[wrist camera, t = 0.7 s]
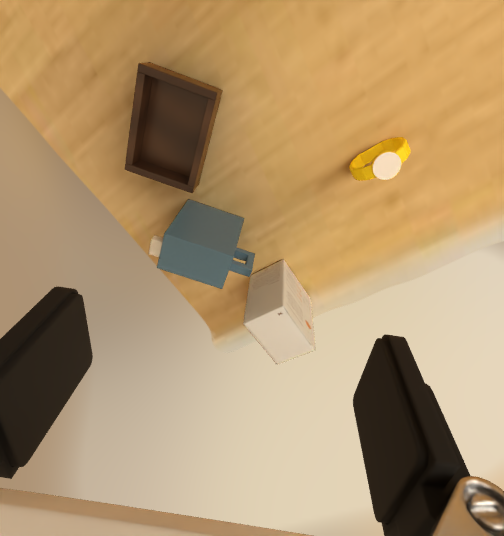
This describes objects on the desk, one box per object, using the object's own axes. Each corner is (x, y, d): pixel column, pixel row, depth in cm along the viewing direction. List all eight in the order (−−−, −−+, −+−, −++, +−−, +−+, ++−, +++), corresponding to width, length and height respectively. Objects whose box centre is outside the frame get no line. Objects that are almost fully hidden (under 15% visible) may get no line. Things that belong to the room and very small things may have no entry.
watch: (352, 176, 41) (361, 194, 36) (343, 155, 40) (350, 170, 35) (404, 149, 39) (421, 164, 34) (395, 126, 37) (411, 138, 32)
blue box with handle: (178, 195, 44) (152, 229, 35) (262, 224, 45) (256, 264, 36) (172, 225, 46) (145, 264, 38) (251, 252, 47) (243, 296, 39)
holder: (149, 62, 36) (138, 62, 34) (222, 89, 37) (217, 92, 35) (134, 162, 42) (124, 169, 40) (198, 185, 43) (192, 193, 40)
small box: (249, 274, 49) (240, 323, 40) (284, 257, 47) (282, 304, 38) (278, 313, 52) (276, 366, 43) (311, 299, 50) (316, 351, 42)
